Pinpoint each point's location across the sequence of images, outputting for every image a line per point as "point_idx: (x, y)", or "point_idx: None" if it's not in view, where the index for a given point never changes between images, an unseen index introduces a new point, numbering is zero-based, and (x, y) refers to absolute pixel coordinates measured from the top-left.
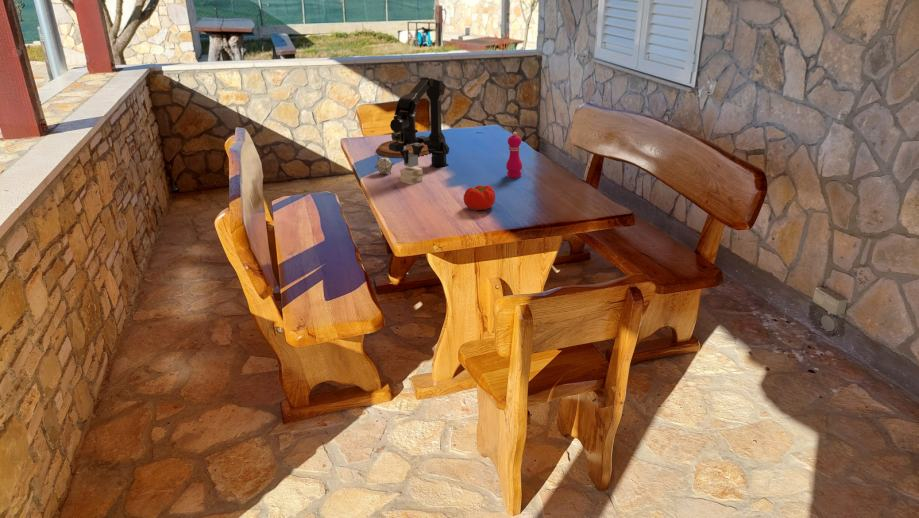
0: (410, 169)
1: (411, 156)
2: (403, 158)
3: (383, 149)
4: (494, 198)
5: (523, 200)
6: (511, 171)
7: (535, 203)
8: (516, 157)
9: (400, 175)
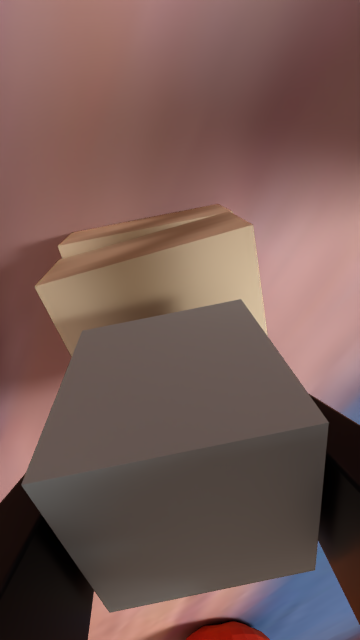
0: None
1: (168, 591)
2: (16, 497)
3: None
4: None
5: (356, 618)
6: None
7: (357, 633)
8: None
9: (62, 247)
